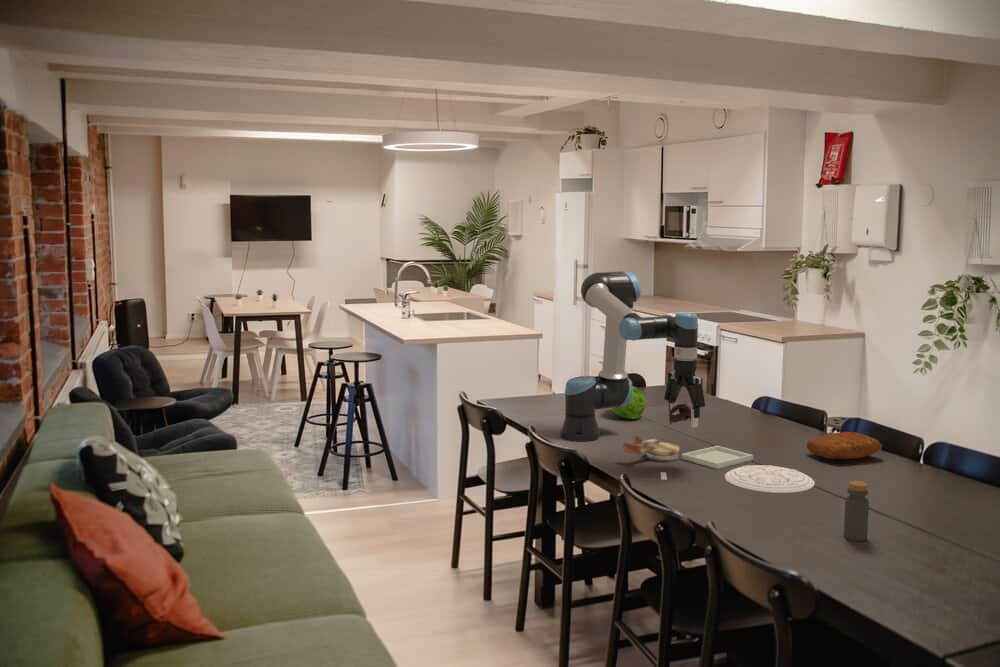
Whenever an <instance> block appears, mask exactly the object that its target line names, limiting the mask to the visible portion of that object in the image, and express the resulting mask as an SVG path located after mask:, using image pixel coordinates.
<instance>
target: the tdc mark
mask: <svg viewBox="0 0 1000 667" xmlns="http://www.w3.org/2000/svg"><path fill="white" fill-rule="evenodd" d="M667 479H668V478H667V472H666V471H665V472H664V471H660V480H661V481H667Z"/></svg>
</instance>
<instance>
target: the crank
mask: <svg viewBox="0 0 1000 667" xmlns="http://www.w3.org/2000/svg"><path fill="white" fill-rule="evenodd" d="M680 447H681V446H680V445H678V444H675V443H672V442H666V441H665V442H662V441H661V442H660V440H659V439H657V438H651V439H647V440H643V436H642V435H639V434H638V435H635V436H634V442H633V443H630V442H627V441H626V442H623V450H622V451H623V452H625V453H629V454H632V455H634V456H641V455H642V453H644V452H646V453H647V452H649V453H652V454H658V455H672V454H677V453H678V454H679V453H680Z"/></svg>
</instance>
